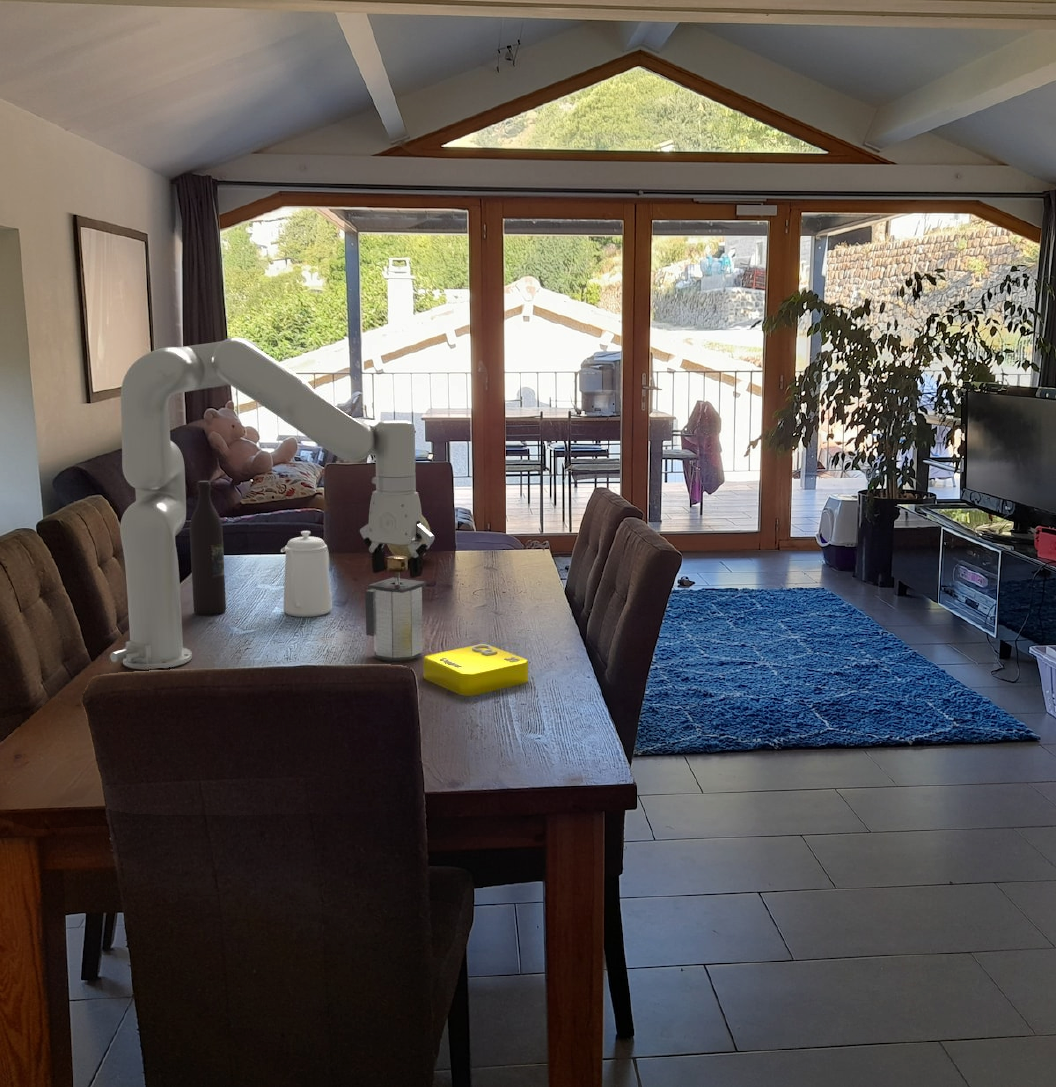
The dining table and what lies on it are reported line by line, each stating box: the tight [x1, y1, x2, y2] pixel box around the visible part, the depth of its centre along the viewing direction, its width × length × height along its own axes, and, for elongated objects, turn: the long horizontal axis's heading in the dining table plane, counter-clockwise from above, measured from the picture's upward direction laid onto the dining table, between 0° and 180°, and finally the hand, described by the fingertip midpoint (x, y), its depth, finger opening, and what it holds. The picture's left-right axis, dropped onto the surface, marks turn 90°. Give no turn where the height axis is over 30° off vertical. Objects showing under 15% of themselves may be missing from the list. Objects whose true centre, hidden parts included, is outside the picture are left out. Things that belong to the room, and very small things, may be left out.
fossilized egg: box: [386, 514, 432, 561], centre depth 306 cm, size 13×13×15 cm
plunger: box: [386, 555, 409, 585], centre depth 211 cm, size 7×7×14 cm
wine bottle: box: [189, 480, 227, 617], centre depth 243 cm, size 7×7×30 cm
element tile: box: [422, 643, 529, 697], centre depth 199 cm, size 15×15×5 cm
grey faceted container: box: [364, 577, 427, 663], centre depth 212 cm, size 9×12×15 cm
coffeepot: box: [280, 530, 333, 618], centre depth 245 cm, size 11×25×19 cm, turn 168°
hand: (397, 573), depth 210 cm, fingers open, 8 cm apart
